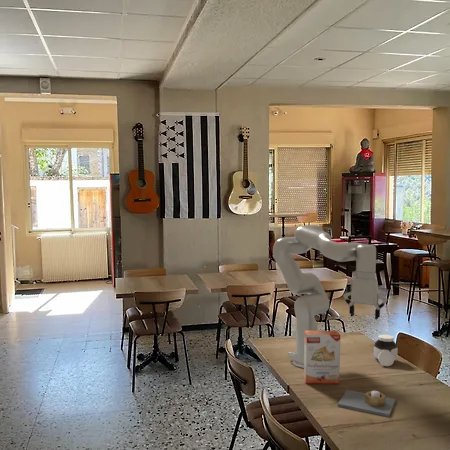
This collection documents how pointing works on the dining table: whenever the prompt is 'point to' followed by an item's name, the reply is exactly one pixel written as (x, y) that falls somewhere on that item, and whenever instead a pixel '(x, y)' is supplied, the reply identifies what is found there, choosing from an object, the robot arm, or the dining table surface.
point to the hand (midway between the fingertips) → (364, 317)
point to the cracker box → (322, 357)
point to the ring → (375, 400)
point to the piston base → (358, 403)
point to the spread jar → (385, 350)
